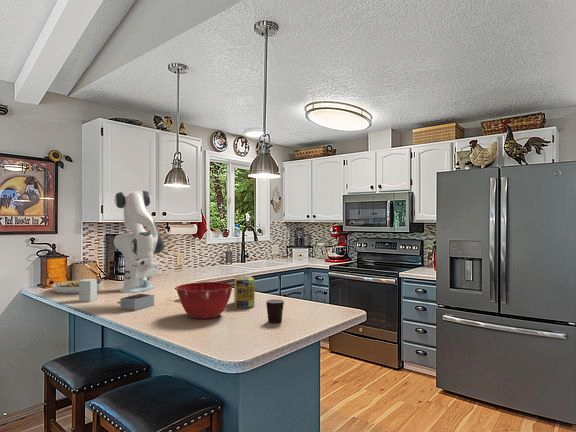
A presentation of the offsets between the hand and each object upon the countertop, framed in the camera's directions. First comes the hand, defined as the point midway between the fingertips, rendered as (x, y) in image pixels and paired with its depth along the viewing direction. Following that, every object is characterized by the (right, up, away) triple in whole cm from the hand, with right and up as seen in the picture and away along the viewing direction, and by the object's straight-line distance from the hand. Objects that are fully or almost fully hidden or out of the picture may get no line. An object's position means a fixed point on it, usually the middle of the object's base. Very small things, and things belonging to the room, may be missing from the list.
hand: (145, 284), depth 224 cm
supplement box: (-38, -12, +11) cm, 42 cm away
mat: (-10, -12, +10) cm, 18 cm away
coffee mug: (+76, -12, -33) cm, 84 cm away
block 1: (-3, -11, -8) cm, 14 cm away
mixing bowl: (+39, -12, -23) cm, 47 cm away
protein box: (+56, -12, +3) cm, 58 cm away
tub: (-2, -12, -5) cm, 13 cm away
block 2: (-1, -11, -3) cm, 11 cm away
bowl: (-63, -12, +45) cm, 78 cm away
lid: (-2, -2, -5) cm, 6 cm away
